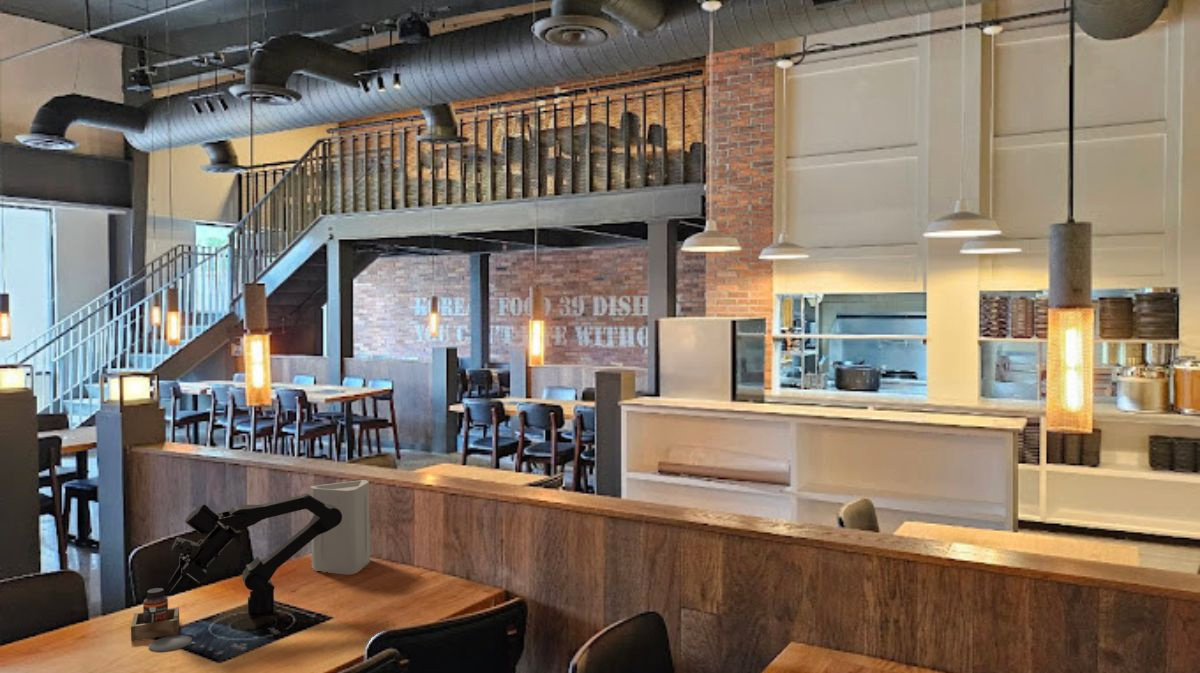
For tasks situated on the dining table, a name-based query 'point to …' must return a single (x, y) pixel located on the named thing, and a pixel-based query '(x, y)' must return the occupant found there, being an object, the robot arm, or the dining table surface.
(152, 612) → the supplement bottle
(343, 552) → the grey rounded wastebasket
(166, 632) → the walnut box
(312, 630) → the dining table surface
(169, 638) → the rubber mat
